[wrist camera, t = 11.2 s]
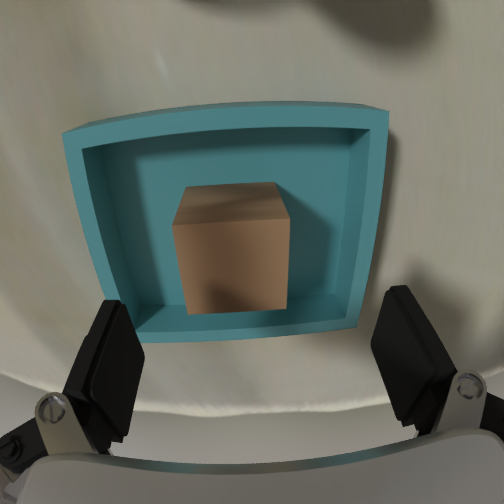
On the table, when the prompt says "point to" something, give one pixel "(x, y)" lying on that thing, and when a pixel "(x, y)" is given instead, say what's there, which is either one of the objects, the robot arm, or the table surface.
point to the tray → (230, 172)
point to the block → (232, 248)
